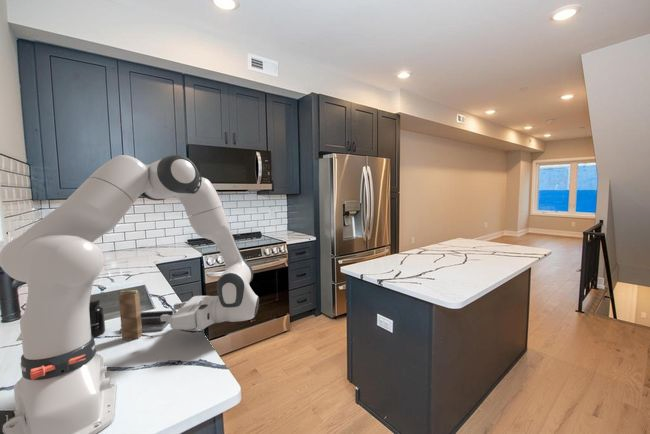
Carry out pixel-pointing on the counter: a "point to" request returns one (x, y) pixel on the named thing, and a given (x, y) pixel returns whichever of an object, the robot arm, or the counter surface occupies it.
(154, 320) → the floor track
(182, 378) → the counter surface
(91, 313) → the supplement bottle
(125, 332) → the brown tall rectangular block
